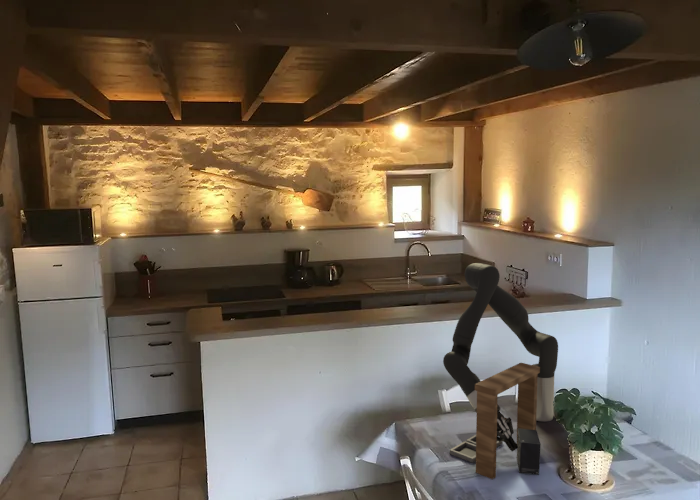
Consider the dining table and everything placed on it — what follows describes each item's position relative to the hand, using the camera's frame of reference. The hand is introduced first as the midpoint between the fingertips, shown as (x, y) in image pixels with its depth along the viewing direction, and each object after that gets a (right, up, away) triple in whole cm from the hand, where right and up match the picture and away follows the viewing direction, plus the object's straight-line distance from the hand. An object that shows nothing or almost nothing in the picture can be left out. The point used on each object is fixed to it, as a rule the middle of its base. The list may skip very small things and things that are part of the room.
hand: (515, 449), depth 181 cm
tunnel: (-2, -5, +3) cm, 6 cm away
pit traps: (-10, -4, +11) cm, 15 cm away
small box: (+4, -5, -1) cm, 6 cm away
